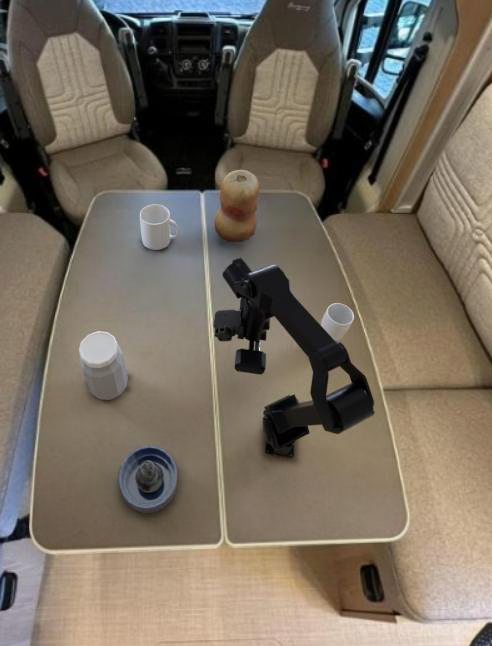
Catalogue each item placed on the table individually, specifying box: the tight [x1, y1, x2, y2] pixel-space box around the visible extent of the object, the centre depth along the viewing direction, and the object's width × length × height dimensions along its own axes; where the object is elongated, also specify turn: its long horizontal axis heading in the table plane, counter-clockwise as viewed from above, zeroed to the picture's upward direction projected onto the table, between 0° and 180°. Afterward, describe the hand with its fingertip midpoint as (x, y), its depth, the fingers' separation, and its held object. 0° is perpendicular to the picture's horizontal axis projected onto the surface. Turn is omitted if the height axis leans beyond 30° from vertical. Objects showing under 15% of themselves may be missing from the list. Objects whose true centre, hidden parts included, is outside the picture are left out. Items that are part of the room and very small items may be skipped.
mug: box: [139, 203, 180, 251], centre depth 133 cm, size 10×12×12 cm
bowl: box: [118, 445, 178, 514], centre depth 88 cm, size 12×12×6 cm
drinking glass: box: [320, 302, 355, 342], centre depth 108 cm, size 7×7×15 cm
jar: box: [78, 331, 129, 401], centre depth 97 cm, size 10×10×18 cm
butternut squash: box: [213, 169, 260, 243], centre depth 130 cm, size 14×13×25 cm
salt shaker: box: [135, 460, 164, 495], centre depth 85 cm, size 6×6×12 cm
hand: (247, 351), depth 97 cm, fingers open, 9 cm apart
